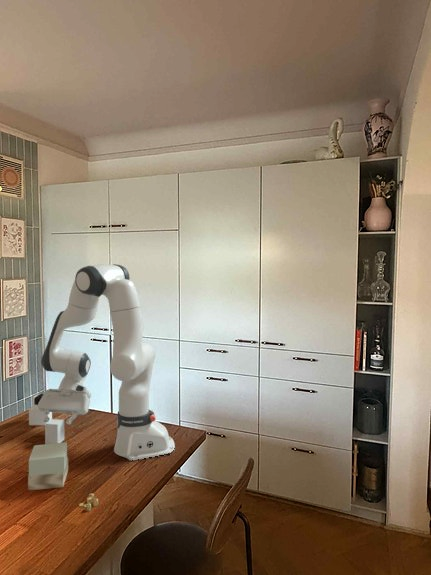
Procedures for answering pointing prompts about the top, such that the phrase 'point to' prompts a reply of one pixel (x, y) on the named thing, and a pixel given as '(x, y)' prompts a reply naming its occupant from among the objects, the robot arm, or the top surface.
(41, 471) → the sage block
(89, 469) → the top surface
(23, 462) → the top surface
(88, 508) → the beige lumpy cluster
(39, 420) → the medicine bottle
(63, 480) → the birch block
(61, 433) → the grey block
